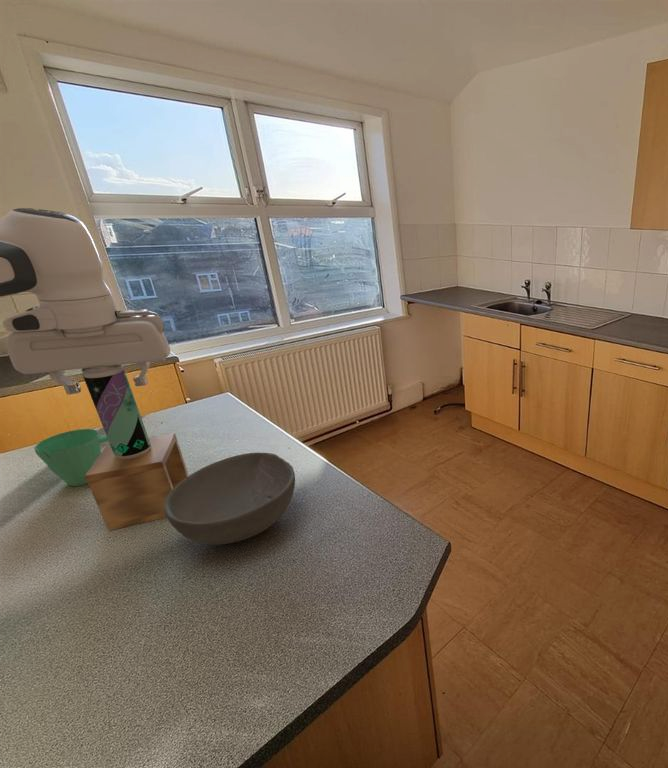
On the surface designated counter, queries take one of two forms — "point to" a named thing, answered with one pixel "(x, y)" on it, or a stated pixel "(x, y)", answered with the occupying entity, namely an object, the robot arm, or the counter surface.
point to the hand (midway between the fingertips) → (109, 388)
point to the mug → (71, 454)
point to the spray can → (117, 411)
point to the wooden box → (136, 482)
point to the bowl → (231, 498)
